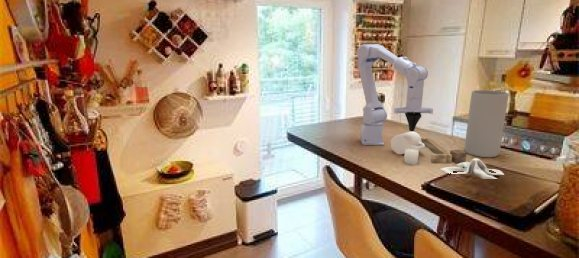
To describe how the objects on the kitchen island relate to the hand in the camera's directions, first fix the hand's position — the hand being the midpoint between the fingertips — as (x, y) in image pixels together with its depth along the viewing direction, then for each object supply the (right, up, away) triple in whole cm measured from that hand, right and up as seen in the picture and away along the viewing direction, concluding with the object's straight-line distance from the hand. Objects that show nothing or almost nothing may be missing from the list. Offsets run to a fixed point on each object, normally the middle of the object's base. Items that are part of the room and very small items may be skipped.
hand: (411, 130), depth 132 cm
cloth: (+16, -16, -19) cm, 29 cm away
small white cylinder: (-3, -12, -7) cm, 14 cm away
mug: (+1, -9, +4) cm, 10 cm away
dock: (+9, -9, +3) cm, 13 cm away
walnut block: (+15, -12, -6) cm, 20 cm away
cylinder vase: (+30, -9, +3) cm, 31 cm away
